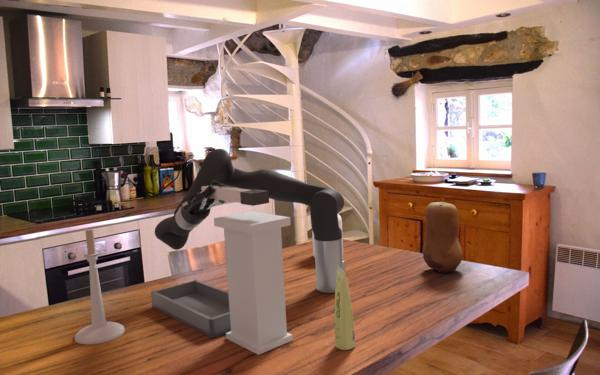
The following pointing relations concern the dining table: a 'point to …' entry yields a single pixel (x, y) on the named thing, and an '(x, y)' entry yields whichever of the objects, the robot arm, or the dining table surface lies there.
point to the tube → (343, 314)
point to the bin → (196, 306)
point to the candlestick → (96, 305)
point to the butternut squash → (442, 237)
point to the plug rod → (240, 195)
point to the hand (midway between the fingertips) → (217, 187)
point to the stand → (255, 279)
